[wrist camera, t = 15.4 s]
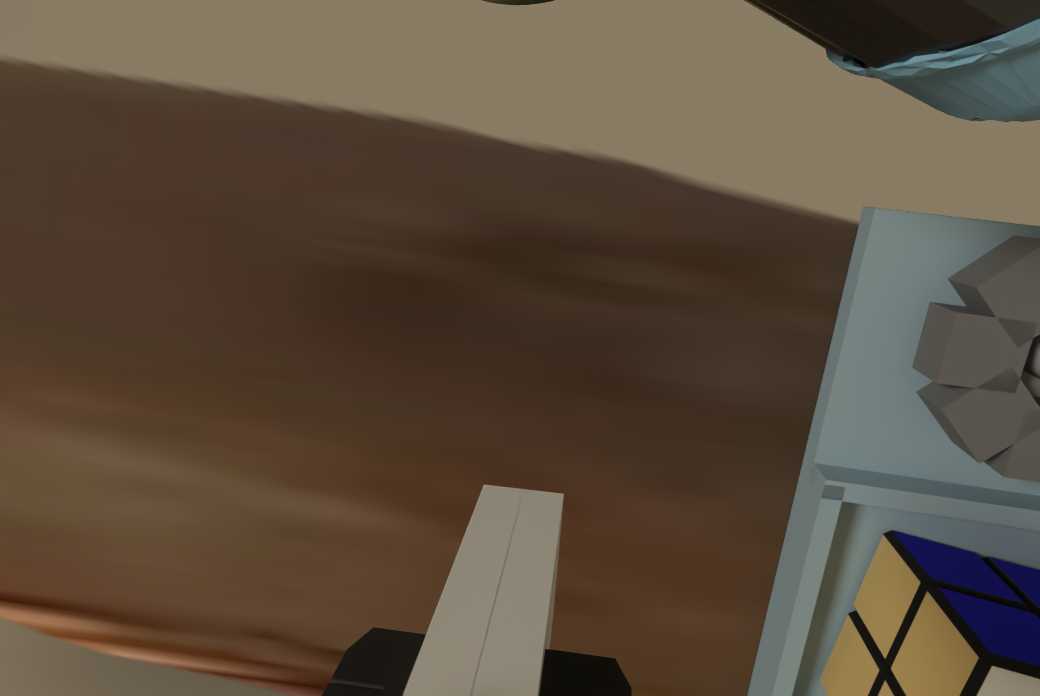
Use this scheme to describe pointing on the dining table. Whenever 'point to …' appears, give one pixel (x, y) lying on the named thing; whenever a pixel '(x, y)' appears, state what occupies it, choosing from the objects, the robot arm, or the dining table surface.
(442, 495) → the dining table surface
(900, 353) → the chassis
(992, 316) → the wheel
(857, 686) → the puzzle cube
